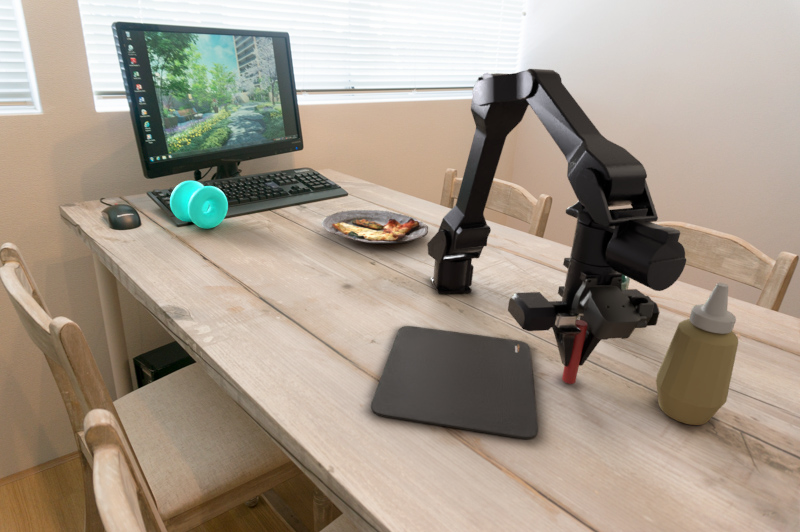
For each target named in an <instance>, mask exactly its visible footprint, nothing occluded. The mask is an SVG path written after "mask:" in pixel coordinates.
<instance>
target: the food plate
mask: <svg viewBox="0 0 800 532" xmlns="http://www.w3.org/2000/svg"><path fill="white" fill-rule="evenodd" d="M321 226H322V227H323V228H324V229H325V230H326V231H327V232H329V233H332V234H336V235H338V236H340V237H344V238H347V239H351V240H353V241H355V242H356V241H358V242H363V243H367V244H373V245H383V244H384V245H391V244H392V245H394V244H403V243H409V242H411V241H415V240H418V239H420V238H424V237H425V236H427V235H428V233H429V226H428V225H427V224H426V223H424V222H423V221H422V220H421V221H420V220H419V219H417V218H416V217H412V216H409V215H406V214H402V213H396V212H392V211H388V210H380V209H350V210H342V211H337V212H335V213H333V214H330V215H327V216H325V217H324V218H323V219H322V221H321Z"/></svg>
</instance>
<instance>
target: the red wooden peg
mask: <svg viewBox="0 0 800 532" xmlns="http://www.w3.org/2000/svg"><path fill="white" fill-rule="evenodd" d="M575 325H576V326H577V327H578V328H579V329H580V330H581V333H579V334H578V335H576V336H575V338H574V344H573V349H572V354H571V359H570V362H569V365H568V366H566V367H565V366H564V365H563V367H564V368H563V372H562V377H561V380H562V381H563V382H564V383H565V384H570V385H573V384H575V383H576V381H577V376H578V372H579V367H580V366H579V363H580V358H581V354H582V349H583V344H584V340H585V335H586V330H587V326H588V324H587V322H585V321H583V320H580V319H577V320H576V324H575Z"/></svg>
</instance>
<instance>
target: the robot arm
mask: <svg viewBox="0 0 800 532" xmlns="http://www.w3.org/2000/svg"><path fill="white" fill-rule="evenodd" d="M472 88H473V89H472V94H471V95H472V97H471V98H472V99H471V104H470V113H471V115H472V118H473V122H474V125H475V130H474V135H473V138H472V142H471V145H470V150H469V154H468V157H467V161H466V163H465V164H466V165H465V169H464V172H463V176H462V180H461V183H460V187H459V191H458V195H457V199H456V202H455V205H454V206H453V207H452V208H451V209H450V210H449V211H448V212H447V213H446V214H445V215H444V216H443V217H442V220H441V223H440V226H439V228H438V230H437V232H436V233H435V234H434V236H433V237H432V238H430V240H429V241H428V242H427V244H426V245H427V254H428V256H429V257H431V258H432V259H433V260H434V265H433V277H430V282H431V283H432V285H433V287H434V290H435V291H436V293H437V294H440V295H442V294H443V295H444V294H446V295H447V294H470V293H472V288H471V287H472V285H473V276H474V265H473V264H472V263H473V260H474V259H480V257H481V254H482V252H483V250H484V247H487V246H488V238H489V236H490V233H491V231H492V228H491V226H489V225H488V223H487V220H486V218H485V214H484V213H485V209H486V206H487V202H488V199H489V196H490V192H491V189H492V185H493V182H494V180H495V176H496V172H497V169H498V167H499V162H500V160H501V156H502V152H503V149H504V147H505V143H506V140H507V137H508V135H509V134H510V133H511V132H512V131H514V129H515V128H516V127H517V126H518V125H519V124H520V123H521V122H522V120H523V118H524V116H525V114H526V112H527V109H528V107H529V106H530V109H531V110H532V111H533V113H534V114H535V115H536V117H537V118H538V120H539V121H540V122H541V125H543V127H544V128H545V130H546V131H547V133H548V135H549V136H550V137H551V139H552V140H553V142H554V143H555V144H556V146H557V147H558V148H559V150H560V152H561V153H562V155H563V156H564V157H565V160H566V162H567V172H566V173H567V174H566V177H567V180H568V181H569V184H570V186H571V188H572V190H573V193H574V195H575V197H576V198H577V202H576V203H574V204H572V205H571V206H568V207H567V208H566V209H565V214H566V215H568V216H570V217H573V218H575V219H576V224H575V229H574V235H573V238H572V239H573V240H572V245H571V250H570V256H569V257H564V258H563V264H562V266H564V267H565V268H566V269H567V272H566V276H565V282H564V285H563V286H558V289H557V294H558V295H559V296H560V297H561V300H554V301H549V300H548V299H547V298H546V297H545V296H544V295H543V294H542V293H541V292H540V291H535V292H534V291H533V292H514V293H513V295H512V296H510V298H509V301H508V307H507V312H508V313H509V314H510V315H511V316H512V318H513V319H514V320H515V321H516V323H517V324H518V326H520V327H521V330H525V331H527V332H539V331H540V332H542V331H550V329H552V331H553V334H554V338H555V341H556V345H557V350H558V353H559V358H560V361H561V364H563V367H564V366H565V367H566V366H568V365H569V362H570V359H571V354H572V349H573V344H574V338H575V336H576V335H578V334H579V333H581V330H580V329H579V328H578V327H577V326H576V325H575V324H576V320H578V319H577V318H578V317H579V320H583V321H585V322H587V324H588V326H587V330H586V335H585V340H584V344H583V349H582V354H581V358H580V363H579V367H581V366H583V365H584V364H585V363H586V361H587V359H589V357H590V356H591V354H592V353H593V351H594V350H595V349H596V347H597V346H598V345H599V343H600V342H601V341H602V340H603V341H605V340H606V341H607V340H610V339H622V340H625V339H629V338H630V337H631V335H632V334H633V332H634V330H635V329H645V328H647V327H649V326H650V327H652V326H657V324H658V319H659V317H660V314H661V311H660V308H659V305H658V304H657V303H656V302H655V301H654V300H652V299H651V297H650V296H649V295H645V294H644V293H643V292H641V291H639V289H637V288H631V289H630V288H628V289H626V290H622V286H621V284H622V274H623V275H625V276H627V277H629V279H630V280H632V281H634V282H637V283H639V284H641V285H643V286H645V287H646V288H648V289H651V290H653V291H656V292H662V291H665V290H667V289H668V288H670V287H672V286H673V285H674V284H676V282H677V281H678V279H679V278H680V277H681V275H682V274H683V271H684V270H685V267H686V265H687V258H686V250H685V247H684V245H683V243H681V242H679V241H680V240H679V239H680V236H681V231H680V230H679V229H676V228H673V227H669V226H663V225H660V224H657V223H655V222H657V221H658V219H659V217H658V214H657V210H656V208H655V204H654V201H653V198H652V195H651V192H650V188H649V185H648V182H647V178H648V174H647V171H646V168H645V166H644V164H643V163H642V162H640V161H639V160H638V158H637V157H635V156H634V155H632V153H631V152H629V151H628V150H627V149H626V148H624V147H622V146H621V145H619V144H617V143H615V142H613V141H611V140H609V139H607V138H606V137H605V136H604V135H603V134H601V132H600V131H599V130H598V128H597V127H596V126H595V124H594V123H593V121H592V120H591V119H590V118H589V116H588V115H587V114H586V113H585V111H584V110H583V108H582V107H581V106H580V104H578V102H577V101H576V99H575V98H574V97H573V96H572V94H571V93H570V91H569V90H568V89H567V88H566V86H565V85H564V83H563V82H562V77H561V75H560V73H558V72H557V71H555V70H553V69H542V68H528V69H526V70H521V71H518V72H512V73H502V72H501V73H500V72H486V73H485V72H484V73H483V74H482V75H481V76H478V77H477V79H476V81H475V83H474V85H473V87H472ZM622 206H631V207H625V208H614V207H622ZM612 207H613V208H614V209H610V208H612Z"/></svg>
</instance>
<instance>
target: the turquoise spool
mask: <svg viewBox="0 0 800 532" xmlns="http://www.w3.org/2000/svg"><path fill="white" fill-rule="evenodd" d="M169 207H170V210H171V212H172V214H173V215H174V216H175V218H177V219H178V220H180V221H181V222H185V223H193V224H194V225H195V226H197V227H199V228H201V229H207V230H209V229H213V228H215V227H217V226H219V225H220V224H221V223H222V222H223V221H224V219H225V218H226V216H227V214H228V209H229V203H228V198H227V196H226V194H225V193H224V191H222V190H221V189H220V188H218V187H217V186H214V185H204V184H203V183H201V182H199V181H197V180H185V181H182V182H180V183H178V185H176V186H175V187H174V189H173V190H172V192H171V195H170V198H169Z"/></svg>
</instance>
